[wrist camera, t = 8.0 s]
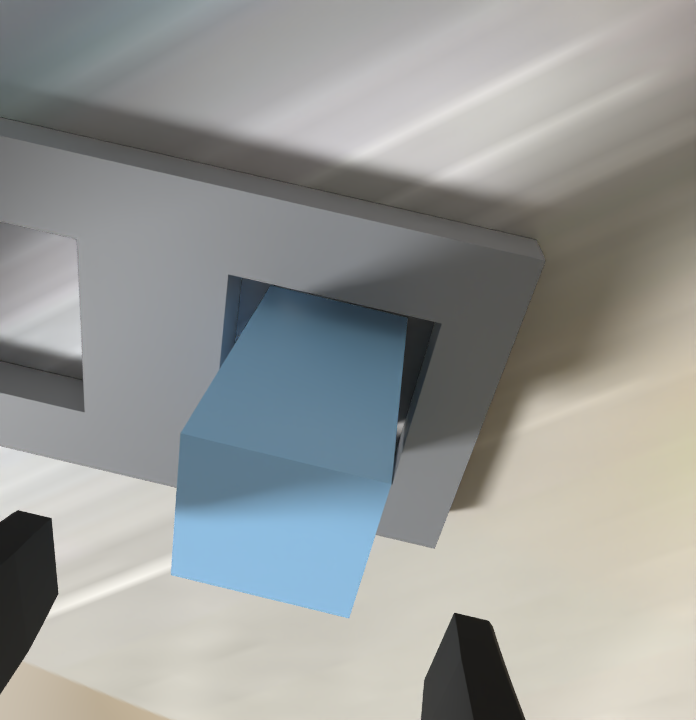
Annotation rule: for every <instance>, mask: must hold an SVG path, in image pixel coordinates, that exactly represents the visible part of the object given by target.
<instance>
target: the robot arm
mask: <svg viewBox="0 0 696 720" xmlns="http://www.w3.org/2000/svg"><path fill="white" fill-rule="evenodd" d="M57 595H58V584H57V573H56V562H55V551H54V540H53V529H52V518H48V517H44V516H40V515H36V514H31V513H27V512H23V511H19V510H18V511H16V512H14V513H12V514H11V515H9V516H8V517H7V518H5V519H4V520H2V521H1V522H0V694H1V692H2V691H3V689H4V687H5V686H6V685H7V683H8V682H9V680H10V679H11V677H12V675H13V674H14V673H15V671H16V670H17V668H18V667H19V665H20V663H21V662H22V660H23V659H24V657H25V656H26V654H27V653H28V651H29V649H30V647H31V646H32V644H33V642H34V640H35V638H36V636H37V634H38V632H39V631H40V629H41V627H42V625H43V623H44V621H45V619H46V617H47V615H48V613H49V611H50V609H51V607H52V605H53V603H54V601H55V599H56V597H57ZM421 720H525V717H524V715H523V712H522V709H521V707H520V704H519V701H518V699H517V696H516V693H515V691H514V688H513V685H512V682H511V680H510V677H509V674H508V671H507V668H506V665H505V662H504V660H503V657H502V654H501V651H500V648H499V645H498V642H497V639H496V635H495V632H494V629H493V626H492V625H491V623H490V622H489V621H487V620H483V619H479V618H475V617H470V616H466V615H462V614H458V613H454V614H453V617H452V619H451V621H450V623H449V626H448V628H447V630H446V632H445V635H444V637H443V639H442V641H441V644H440V646H439V648H438V650H437V653H436V655H435V657H434V659H433V662H432V664H431V666H430V668H429V671H428V673H427V675H426V677H425V680H424V690H423V702H422V714H421Z"/></svg>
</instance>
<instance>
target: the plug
mask: <svg viewBox="0 0 696 720" xmlns="http://www.w3.org/2000/svg"><path fill="white" fill-rule="evenodd" d="M407 320H408V318H406V317H402V316H398V315H394V314H390V313H385V312H381V311H377V310H373V309H369V308H364V307H360V306H356V305H352V304H347V303H343V302H339V301H335V300H331V299H326V298H322V297H318V296H314V295H310V294H305V293H301V292H297V291H293V290H289V289H284V288H280V287H276V286H272V285H271V286H270V287H269V289H268V291H267V292H266V294H265V295H264V297H263V299H262V300H261V302H260V304H259V305H258V307H257V309H256V310H255V312H254V314H253V315H252V317H251V318H250V320H249V322H248V323H247V325H246V327H245V328H244V330H243V332H242V333H241V335H240V336H239V338H238V340H237V341H236V343H235V345H234V346H233V348H232V350H231V351H230V353H229V354H228V356H227V358H226V359H225V361H224V363H223V364H222V366H221V368H220V369H219V371H218V373H217V374H216V376H215V377H214V379H213V381H212V382H211V384H210V386H209V387H208V389H207V391H206V392H205V394H204V395H203V397H202V399H201V400H200V402H199V404H198V405H197V407H196V409H195V410H194V412H193V414H192V415H191V417H190V418H189V420H188V422H187V423H186V425H185V427H184V428H183V430H182V432H181V433H180V447H179V462H178V477H177V492H176V507H175V522H174V537H173V552H172V567H171V575H173V576H177V577H182V578H186V579H190V580H194V581H198V582H202V583H206V584H210V585H214V586H218V587H223V588H227V589H231V590H235V591H239V592H243V593H247V594H251V595H255V596H260V597H264V598H268V599H272V600H276V601H280V602H284V603H288V604H292V605H297V606H301V607H305V608H309V609H313V610H317V611H321V612H325V613H329V614H333V615H338V616H342V617H346V618H349V617H350V614H351V610H352V607H353V604H354V601H355V598H356V595H357V591H358V588H359V585H360V582H361V579H362V576H363V572H364V569H365V566H366V563H367V560H368V557H369V554H370V550H371V547H372V544H373V541H374V538H375V535H376V531H377V528H378V525H379V522H380V519H381V516H382V512H383V509H384V506H385V503H386V500H387V497H388V493H389V490H390V487H391V484H392V473H393V463H394V453H395V443H396V433H397V422H398V412H399V402H400V392H401V382H402V371H403V361H404V351H405V341H406V331H407Z"/></svg>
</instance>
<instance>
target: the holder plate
mask: <svg viewBox="0 0 696 720" xmlns="http://www.w3.org/2000/svg"><path fill="white" fill-rule="evenodd" d="M0 222H4V223H8V224H13V225H17V226H21V227H26V228H30V229H34V230H39V231H43V232H47V233H52V234H56V235H60V236H65V237H69V238H73V239H77V254H78V276H79V298H80V320H81V342H82V364H83V380H79V379H75V378H71V377H66V376H62V375H58V374H53V373H49V372H45V371H41V370H36V369H32V368H28V367H24V366H19V365H15V364H11V363H7V362H2V361H0V446H2V447H6V448H11V449H15V450H19V451H23V452H27V453H32V454H36V455H40V456H44V457H49V458H53V459H57V460H61V461H66V462H70V463H74V464H78V465H82V466H87V467H91V468H95V469H99V470H104V471H108V472H112V473H116V474H121V475H125V476H129V477H133V478H138V479H142V480H146V481H150V482H154V483H159V484H163V485H167V486H171V487H176V488H177V477H178V462H179V447H180V433H181V432H182V430H183V428H184V427H185V425H186V423H187V422H188V420H189V418H190V417H191V415H192V414H193V412H194V410H195V409H196V407H197V405H198V404H199V402H200V400H201V399H202V397H203V395H204V394H205V392H206V391H207V389H208V387H209V386H210V384H211V382H212V381H213V379H214V377H215V376H216V374H217V373H218V371H219V369H220V368H221V366H222V364H223V363H224V361H225V359H226V358H227V356H228V354H229V353H230V351H231V350H232V348H233V346H234V345H235V336H236V327H237V318H238V308H239V299H240V290H241V281H242V278H247V279H251V280H255V281H260V282H264V283H268V284H272V285H277V286H281V287H285V288H290V289H294V290H298V291H303V292H307V293H311V294H316V295H320V296H324V297H329V298H333V299H337V300H342V301H346V302H350V303H355V304H359V305H363V306H368V307H372V308H376V309H381V310H385V311H389V312H394V313H398V314H402V315H407V316H411V317H415V318H420V319H424V320H428V321H433V322H435V323H434V326H433V330H432V333H431V336H430V340H429V343H428V346H427V350H426V353H425V356H424V360H423V363H422V366H421V370H420V373H419V376H418V380H417V383H416V386H415V390H414V393H413V396H412V400H411V403H410V406H409V410H408V413H407V416H406V420H405V423H404V426H403V430H402V433H401V436H400V440H399V443H398V446H397V450H396V453H394V463H393V473H392V484H391V487H390V490H389V493H388V497H387V500H386V503H385V506H384V509H383V512H382V516H381V519H380V522H379V525H378V528H377V531H376V535H379V536H383V537H387V538H392V539H396V540H400V541H404V542H408V543H413V544H417V545H421V546H425V547H430V548H434V549H435V547H436V544H437V541H438V539H439V536H440V534H441V531H442V528H443V526H444V523H445V521H446V518H447V516H448V513H449V510H450V508H451V505H452V503H453V500H454V497H455V495H456V492H457V490H458V487H459V484H460V482H461V479H462V477H463V474H464V471H465V469H466V466H467V464H468V461H469V458H470V456H471V453H472V451H473V448H474V445H475V443H476V440H477V438H478V435H479V432H480V430H481V427H482V425H483V422H484V419H485V417H486V414H487V412H488V409H489V406H490V404H491V401H492V399H493V396H494V393H495V391H496V388H497V386H498V383H499V380H500V378H501V375H502V373H503V370H504V367H505V365H506V362H507V360H508V357H509V355H510V352H511V349H512V347H513V344H514V342H515V339H516V336H517V334H518V331H519V329H520V326H521V323H522V321H523V318H524V316H525V313H526V310H527V308H528V305H529V303H530V300H531V297H532V295H533V292H534V290H535V287H536V284H537V282H538V279H539V277H540V274H541V271H542V269H543V266H544V264H545V261H546V260H545V258H544V256H543V253H542V251H541V249H540V246H539V244H538V242H537V240H535V239H531V238H526V237H522V236H517V235H513V234H509V233H504V232H500V231H496V230H491V229H487V228H482V227H478V226H474V225H469V224H465V223H461V222H456V221H452V220H447V219H443V218H439V217H434V216H430V215H426V214H421V213H417V212H412V211H408V210H404V209H399V208H395V207H390V206H386V205H382V204H377V203H373V202H369V201H364V200H360V199H355V198H351V197H347V196H342V195H338V194H334V193H329V192H325V191H320V190H316V189H312V188H307V187H303V186H299V185H294V184H290V183H285V182H281V181H277V180H272V179H268V178H264V177H259V176H255V175H250V174H246V173H242V172H237V171H233V170H229V169H224V168H220V167H215V166H211V165H207V164H202V163H198V162H194V161H189V160H185V159H180V158H176V157H172V156H167V155H163V154H159V153H154V152H150V151H145V150H141V149H137V148H132V147H128V146H124V145H119V144H115V143H110V142H106V141H102V140H97V139H93V138H88V137H84V136H80V135H75V134H71V133H67V132H62V131H58V130H53V129H49V128H45V127H40V126H36V125H32V124H27V123H23V122H18V121H14V120H10V119H5V118H1V117H0Z"/></svg>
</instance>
